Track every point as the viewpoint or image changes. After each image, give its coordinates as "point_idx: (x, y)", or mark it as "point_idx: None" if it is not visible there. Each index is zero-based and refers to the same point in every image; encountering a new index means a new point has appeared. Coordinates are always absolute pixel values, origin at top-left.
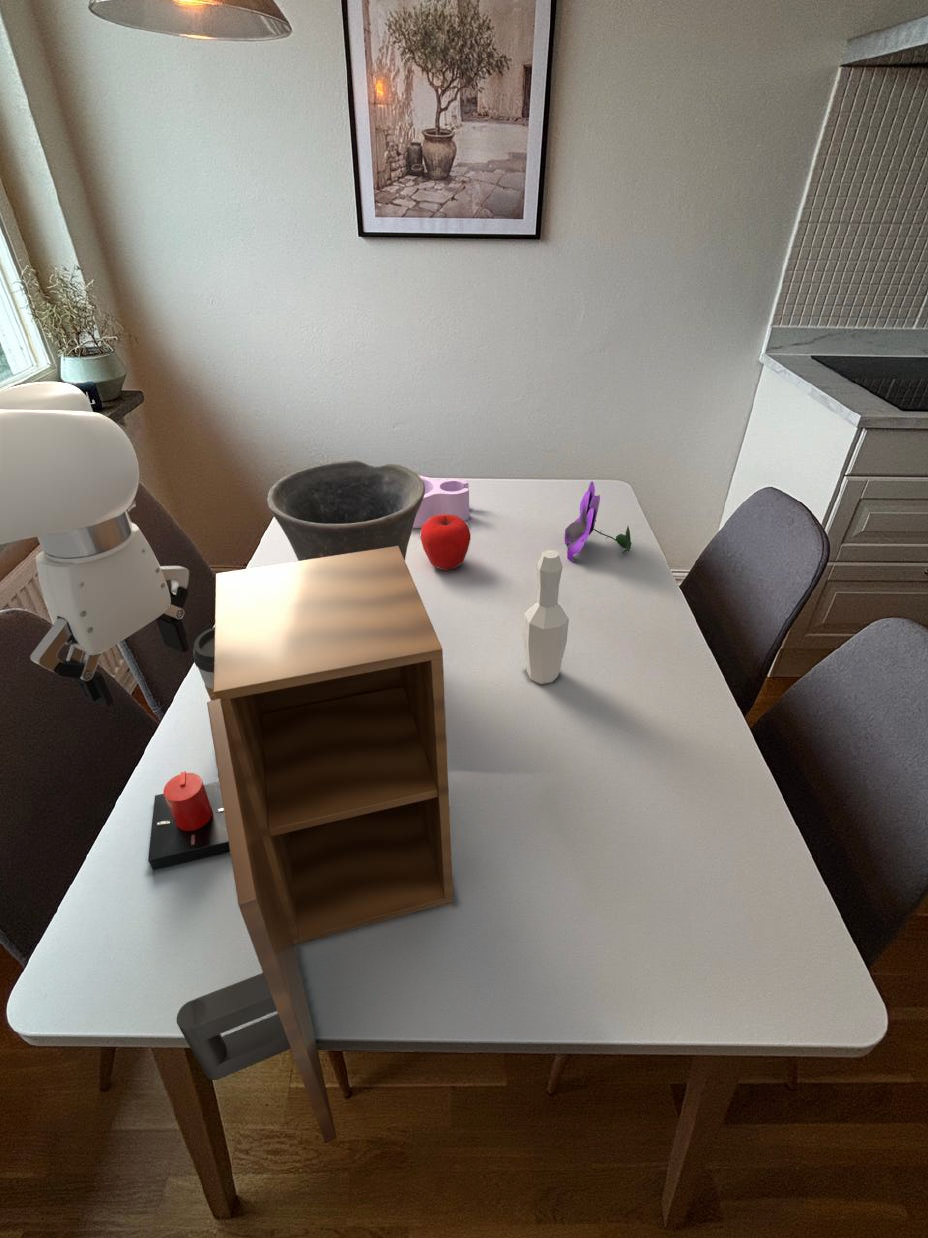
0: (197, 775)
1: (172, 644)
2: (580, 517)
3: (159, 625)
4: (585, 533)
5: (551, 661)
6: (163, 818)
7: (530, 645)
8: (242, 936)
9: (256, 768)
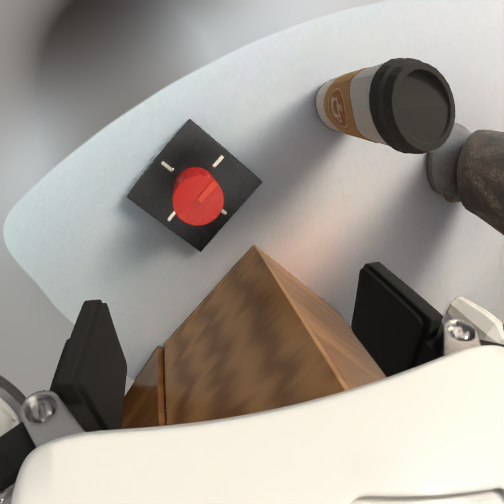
0: (222, 201)
1: (363, 308)
2: None
3: (402, 313)
4: None
5: None
6: (172, 159)
7: (472, 324)
8: (143, 312)
9: None
